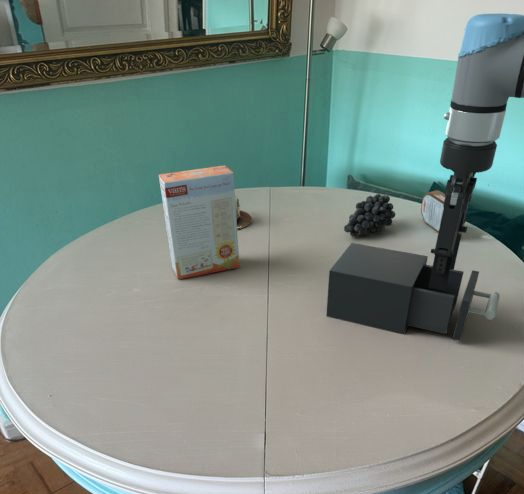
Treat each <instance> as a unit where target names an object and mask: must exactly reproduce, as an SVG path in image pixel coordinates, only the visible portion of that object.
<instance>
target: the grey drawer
mask: <svg viewBox="0 0 524 494" xmlns="http://www.w3.org/2000/svg"><path fill="white" fill-rule="evenodd" d="M432 267H433V265H430V264H426V265H424V267H423V269H422V271H421V273H420V275H419V277H418V279H417V281H416V283H415V285H414V287H413V290H412V296H411V301H410V307H409V313H408V318H407V324H406V325H408V327H413V328H418V329H423V330H427V331H431V332H435V333H440V334H444V335H446V334H447V332H448V329H449V327H450V323H451V321H452V317H453V315H454V312H455V309H456V306H457V302H458V297H459V294H460V289H461V285H462V280H463V276H464V271H462V270H457V269H454V270H451V269H450V272H449V277H448V281H447V286H446V290H445V291H443V290H438V289H433V288H429V283H430V278H431V272H432ZM479 275H480V271H479V270H478V271H477V270H471V271H470V276H469V279H468V281H467V285H466V288H465V290H464V294H463V297H462V299H461V303H460V308H459V311H458V315H457V321H456V324H455V327H454V332H453V336H452V340H453V341H458V342H460V341H461V339H462V335H463V332H464V328H465V326H466V322H467V319H468V316H469V313H473V314H478V315H483V316H484V317H485V318H486V319H487V320H493V319H495V317H496V315H497V309H498V306H499V301H500V295H501V294H500V293H499V292H497V291H492V292H490V293H488V292H483V291H478V290H476V286H477V282H478V278H479ZM473 296H476V297H481V298H486V299H487V304H486V307H485V308H486V309H481V308H476V307H471V306H472V301H473V298H474V297H473Z"/></svg>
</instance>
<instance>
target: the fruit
mask: <svg viewBox="0 0 524 494" xmlns="http://www.w3.org/2000/svg"><path fill="white" fill-rule="evenodd" d="M390 201H391V197H390V195H388V194H382V195H381V194H380V193H376V194H374V195H373V196H372V195H369V196H367V197H366V198H365V200H362V201H360V202H356V204H355V211H354V213H352V214H350V215H349V217H348V219H349V220H348V222H347V224H346V225H344V227H343V231H344V233H347V234H348V233H349V236H351V237H352V238H356V237H358V235H359V234H360V233H362V234H363V235H365V236H368V235H369V234H370V233H371V232H372V233H374V232H376V231H379V232H382V231H384V230H385V226H386V227H390V226H392V224H393V219H394V218H395V217H396V212H395V211H394V204H393V203H391V202H390Z"/></svg>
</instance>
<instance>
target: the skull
mask: <svg viewBox="0 0 524 494" xmlns="http://www.w3.org/2000/svg"><path fill="white" fill-rule="evenodd" d="M235 203H236V219H237V227H240V226H241V227H240V229H243V228H246V227H247V226H249V225H250V224H251V223H252V220H253V219H252V216H251V214H250V213H248V212H247V211H244V210H240V207H241V203H240V200H239V198H238V196H237V195H235Z"/></svg>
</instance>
